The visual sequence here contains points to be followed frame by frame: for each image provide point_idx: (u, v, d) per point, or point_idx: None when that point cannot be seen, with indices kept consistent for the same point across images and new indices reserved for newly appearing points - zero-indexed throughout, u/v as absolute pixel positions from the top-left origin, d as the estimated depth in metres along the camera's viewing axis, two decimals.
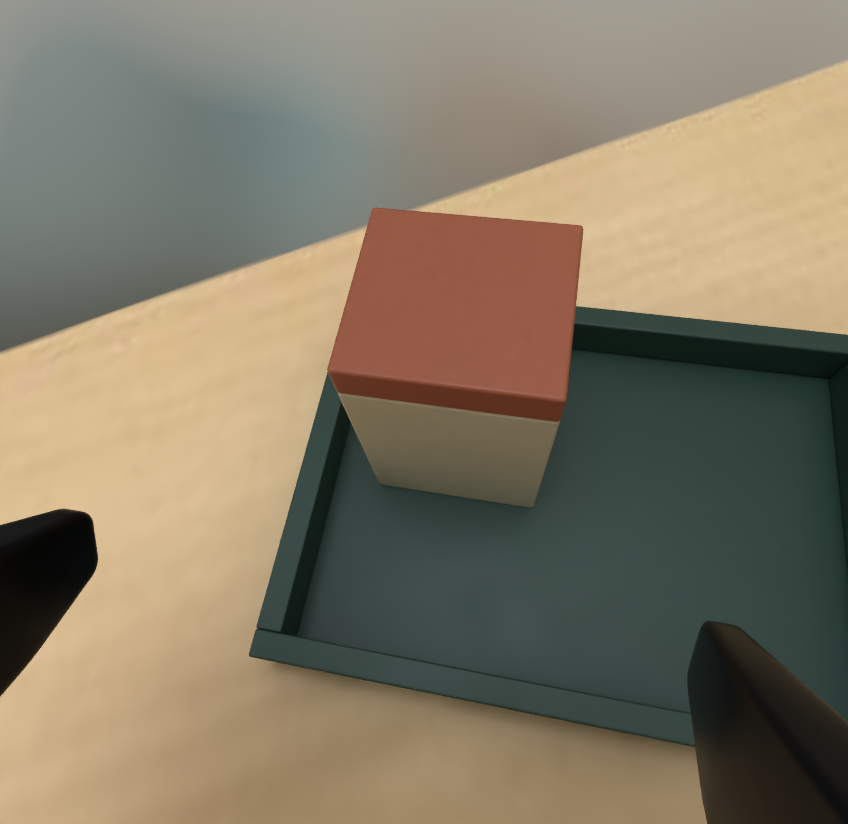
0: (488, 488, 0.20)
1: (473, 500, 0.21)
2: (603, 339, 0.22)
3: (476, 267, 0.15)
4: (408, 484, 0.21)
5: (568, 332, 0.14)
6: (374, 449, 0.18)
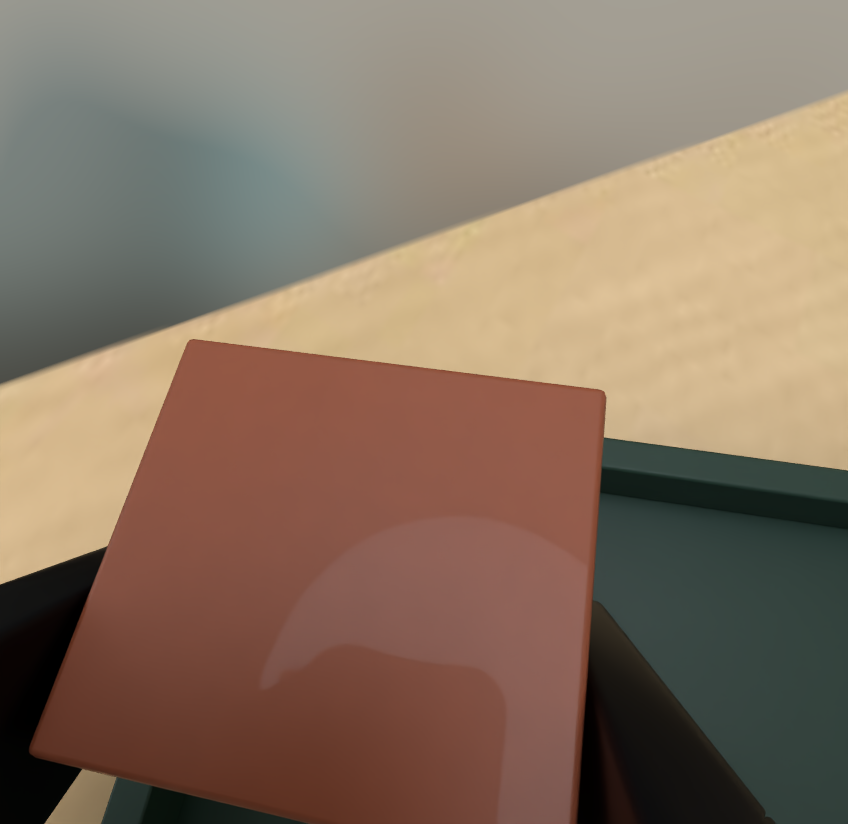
0: None
1: None
2: (626, 484, 0.14)
3: (380, 487, 0.07)
4: None
5: (577, 671, 0.06)
6: None
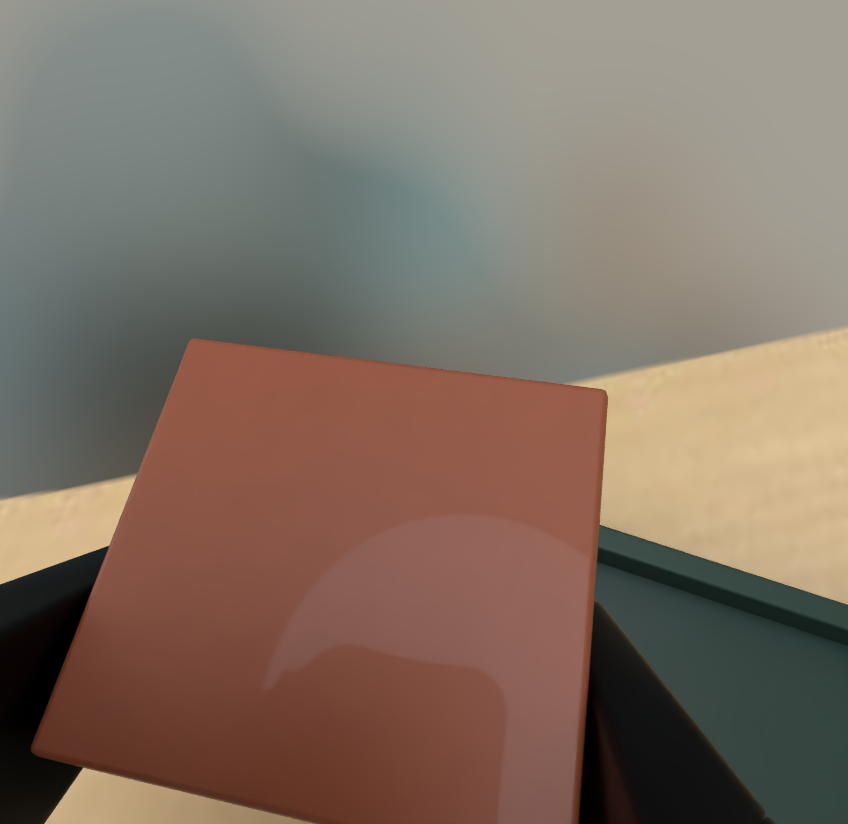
0: None
1: None
2: (790, 619, 0.19)
3: (382, 486, 0.07)
4: None
5: (579, 671, 0.06)
6: None
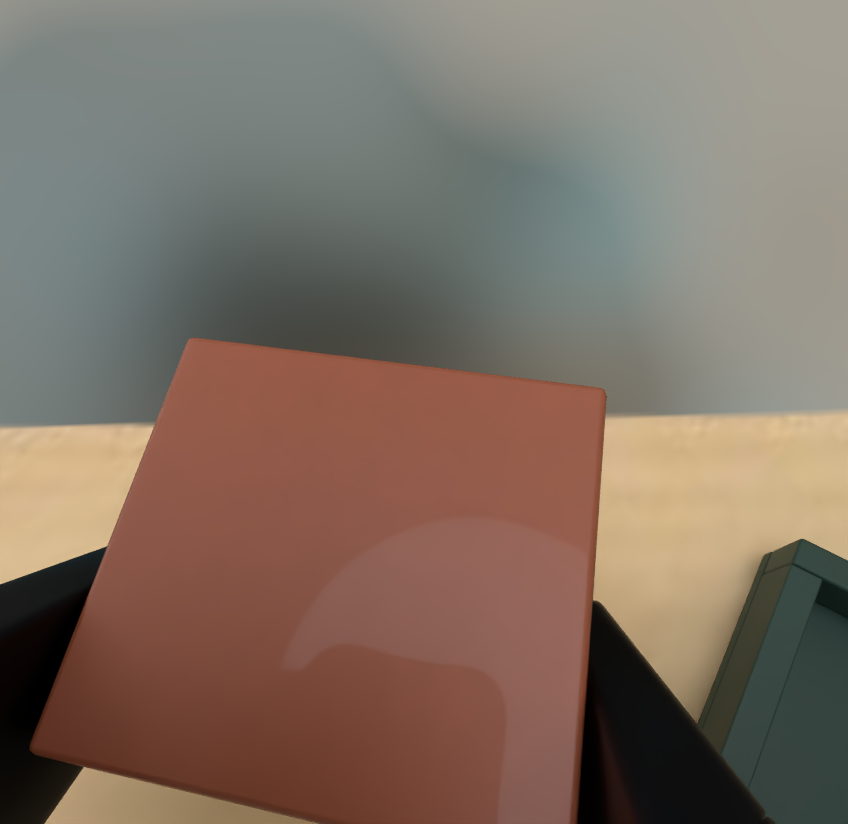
0: None
1: None
2: None
3: (380, 485, 0.07)
4: None
5: (577, 669, 0.06)
6: None
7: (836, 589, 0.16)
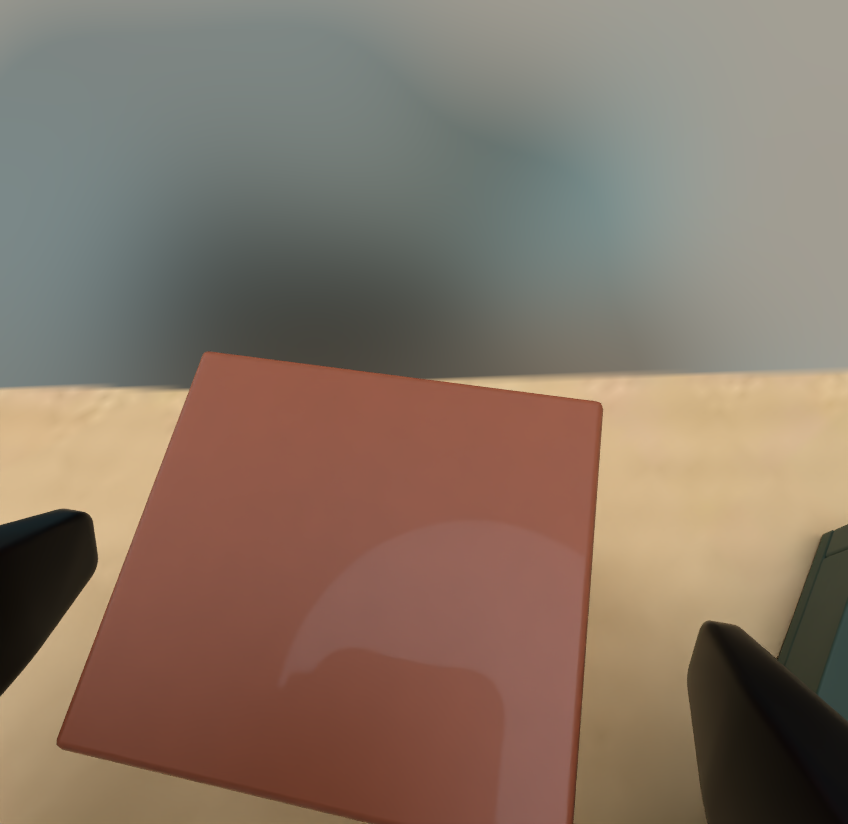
0: None
1: None
2: None
3: (388, 494, 0.07)
4: None
5: (574, 669, 0.06)
6: None
7: None
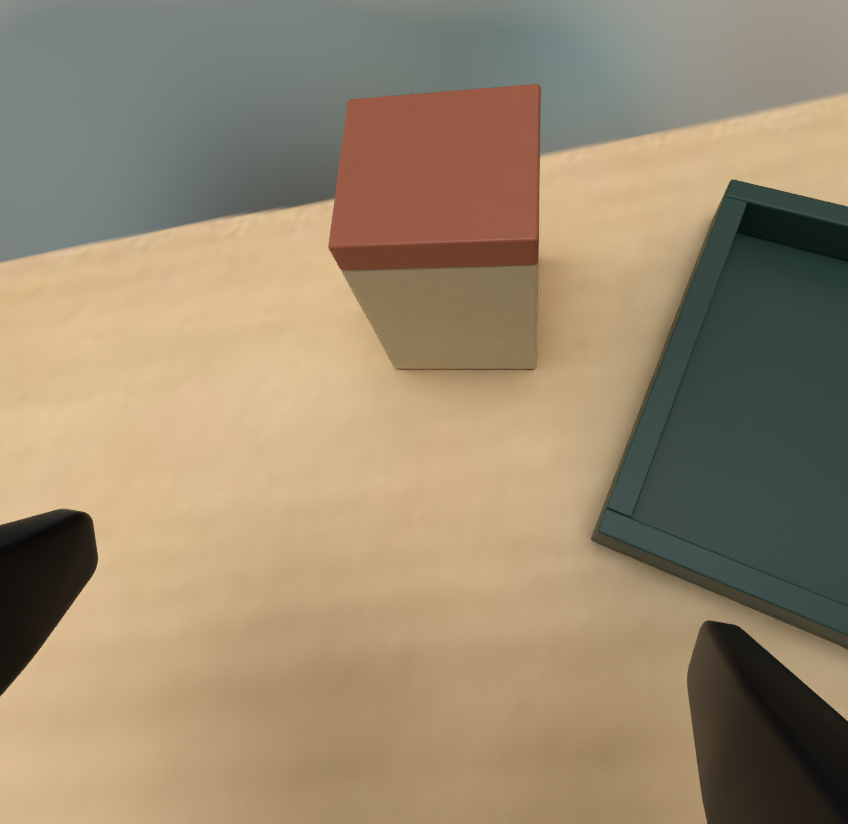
0: (491, 352, 0.22)
1: (828, 433, 0.20)
2: None
3: (447, 137, 0.17)
4: (420, 363, 0.23)
5: (534, 181, 0.16)
6: (383, 328, 0.20)
7: (758, 208, 0.21)
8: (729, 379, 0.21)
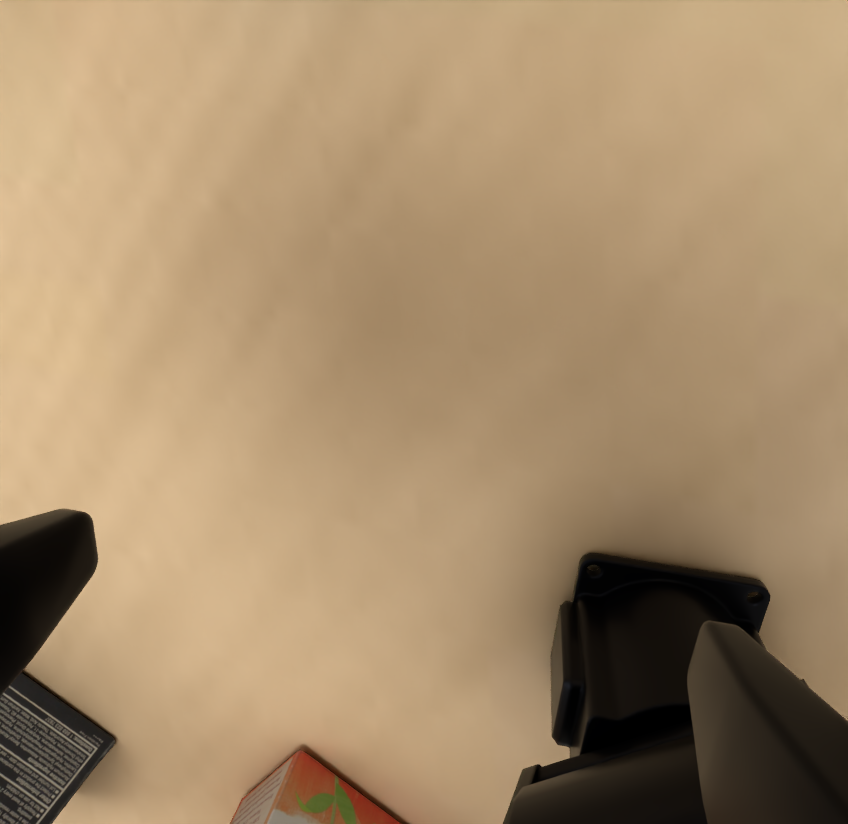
0: None
1: None
2: None
3: None
4: None
5: None
6: None
7: None
8: None
